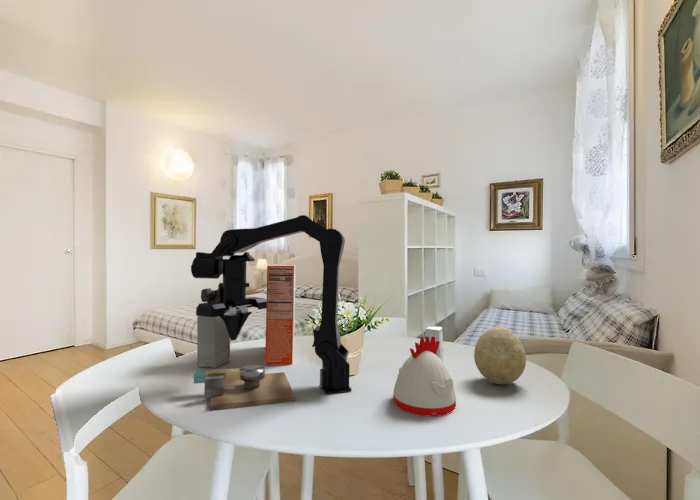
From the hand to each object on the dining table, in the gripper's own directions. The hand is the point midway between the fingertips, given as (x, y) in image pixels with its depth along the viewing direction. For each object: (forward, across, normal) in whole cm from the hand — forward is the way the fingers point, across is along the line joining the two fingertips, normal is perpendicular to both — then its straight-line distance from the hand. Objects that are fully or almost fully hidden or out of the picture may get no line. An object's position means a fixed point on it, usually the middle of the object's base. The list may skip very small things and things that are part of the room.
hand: (233, 340), depth 92 cm
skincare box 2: (+12, -41, +41) cm, 59 cm away
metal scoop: (+8, +4, +4) cm, 10 cm away
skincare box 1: (+11, -10, -18) cm, 24 cm away
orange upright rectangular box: (+12, -28, -8) cm, 32 cm away
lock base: (+11, +1, +6) cm, 13 cm away
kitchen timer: (+12, -14, +46) cm, 49 cm away
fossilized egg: (+12, -37, +59) cm, 71 cm away
